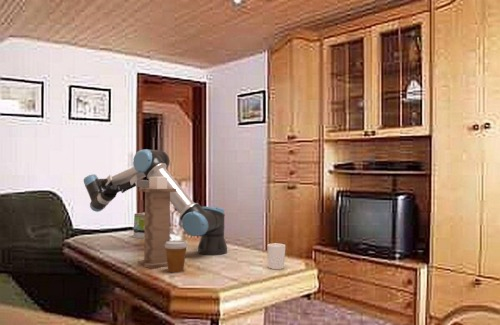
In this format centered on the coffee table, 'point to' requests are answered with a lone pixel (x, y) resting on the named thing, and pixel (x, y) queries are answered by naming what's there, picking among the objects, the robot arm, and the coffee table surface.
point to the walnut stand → (156, 226)
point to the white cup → (276, 255)
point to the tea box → (139, 225)
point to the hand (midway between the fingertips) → (123, 177)
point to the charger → (153, 183)
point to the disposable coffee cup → (175, 255)
